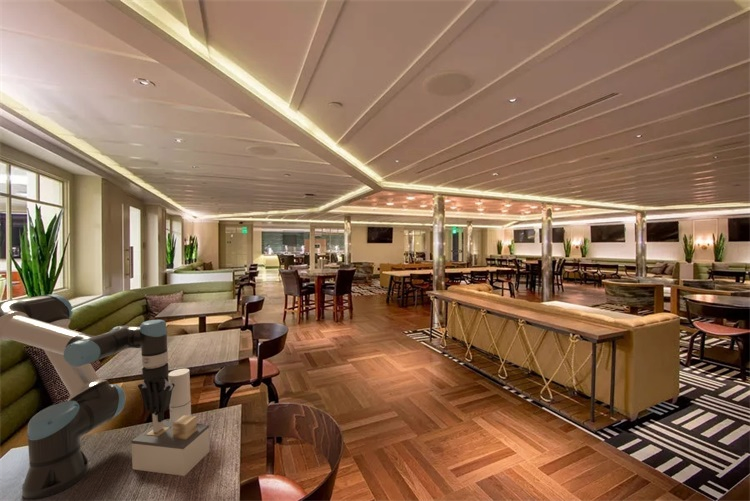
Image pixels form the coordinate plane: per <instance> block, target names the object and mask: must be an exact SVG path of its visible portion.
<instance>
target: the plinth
mask: <svg viewBox="0 0 750 501" xmlns="http://www.w3.org/2000/svg"><path fill="white" fill-rule="evenodd" d="M174 422H175V421H170V420H166V419H164V420H163V426H164V427H170V428H169V429H168V430H167V431H165V432H164V433H162V434H161V435H160V436H158V437H157V436H148V435H146V434H147V433H148V432H150V431H151V430H153V425H152V426H151V427H149V428H148V429H146V430H145V431H143V432H142V433H140V434H139V435H137V436H136V437H135V438H133V439H131V440H130V441H131V462H132V470H135V471H143V472H152V473H158V474H165V475H166V474H167V475H173V476H174V475H175V476H182V477H185V476H186V475H187V474H188V473H190V471H191V470H192V469H193V468H194V467H195V466H196V465H197V464H199V462H200V461H201V460H203V459H204V458H205V457H206V456H207V455H208V454H209V453H210V450H211V447H210V428H209V427H210V425H209V424H205V423H204V424H203V423H197V431H196V432H195V433H194V434H192V435H191V436H190V437H189V438H188V439H186V440H185V439H176V438H173V423H174Z"/></svg>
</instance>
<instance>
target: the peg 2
mask: <svg viewBox="0 0 750 501" xmlns="http://www.w3.org/2000/svg"><path fill="white" fill-rule="evenodd" d="M197 424H198V423H197V415H191V416H187V415H184V416H182V417H181V418H179V419H178V420H177V421H175V422H174V423H173V438H176V439H185V440H186V439H188V438H189V437H190V436H191V435H192V434H194V433H195V432H196V431H197Z"/></svg>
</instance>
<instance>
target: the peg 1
mask: <svg viewBox="0 0 750 501" xmlns="http://www.w3.org/2000/svg"><path fill="white" fill-rule="evenodd" d="M169 428H170V427H164V426H163V428H162V429H161V430H160V431H158V432H157V433H156V432H153V430H151V431H150V432H148V433H147V434H146V435H148V436H157V437H158V436H160V435H161V434H162V433H164V432H165V431H167V430H168V429H169Z"/></svg>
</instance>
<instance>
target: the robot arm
mask: <svg viewBox="0 0 750 501" xmlns="http://www.w3.org/2000/svg"><path fill="white" fill-rule="evenodd" d="M72 315H73V305H72V304H71V302H70V301H69V300H68V299H67V298H66V297H65V296H62V295H60V294H56V293H55V294H53V293H51V294H41V295H38V296H32V297H31V296H30V297H24V298H18V299H10V300H5V301H1V302H0V341H1V342H2V341H3V342H5V341H6V342H7V341H11V340H12V341H15V342H17V343H21V344H25V345H28V346H31V347H35V348H37V349H42V350H43V351H44V353H45V354H46V356H47V357H48V359H49V361H50V363H51V364H52V366H53V368H54V369H55V371H56V373H57V375H58V376H59V378H60V379H61V382H62V383H63V384H64V386H65V388H66V389H67V391H68V393H69V397H68V399H67V400H65V401H60V402H59V403H57V404H55V403H54V404H51V405H49V406H47V407H45V408H43V409H42V410H39V412H37V413H36V414H34V415H33V416H32V417H31V418H30V420H28V421H29V422H28V423H27V432H26V437H27V443H28V460H29V468H28V471H27V472H26V476H25V479H24V482H23V484H22V488H21V489H22V496H23V498H24V499H28V500H37V499H41V498H42V499H43V498H46V497H50V496H52V495H55V494H57V493H61V492H62V491H64V490H66V489H68V488H70V487H72V486H74V485H75V484H76V483H78V482H79V481H81V480H82V479H83V478H84V477H86V475H87V473H88V472H89V470H90V466H89V465H90V464H89V460H88V458H87V456H86V455H85V452H84V451H83V449H82V444H81V437H83V436H84V435H87V434H88V433H89V432H91V431H93V430H95V429H96V428H98V427H100V426H102V425H104V424H105V423H108V422H109V421H112V419H114V418H115V417H116V416H118V415H120V413H121V412H122V411H123V409H124V408H125V404H126V394H125V391H124V389H123V388H122V387H121V386H120V385H117V384H110V383H109V381H108V380H107V379H101V378H100V377H99V376H98V374H97V372H96V371H95V369H94V366H93V365H92V364H91V363H94V362H96V361H99V360H101V359H104V358H106V357H109V356H112V355H114V354H117V353H119V352H122V351H125V350H128V349H141V366H142V368H141V370H142V371H141V372H142V373H141V374H142V379H144V380H143V382H140V383H139V384H137V387H138V390H139V391H140V394H141V398H142V401H143V407H144V411H145V412H149V413H150V415H151V416H150V420H151V422H152V426H153V432H156V433H157V432H158V431H160V430H161V429H162V428H163V420H165V412H166V411H168V410H170V400H171V394H172V389H173V388H174V386H175V385H174V383H172V384H170V383H169V379H168V374H169V363H168V361H169V353H168V329H167V328H168V327H167V322H166V320H164V319H151V320H146V321H143V322H142V323H141V324H140V325H127V324H125V325H119V326H118V325H117V326H115V327H113V328H112V329H110V330H109V331H108V332H104V333H101V334H97V335H91V334H88V333H84V332H80V331H77V330H74V329H70V327H69V326H70V323H71V318H72V317H73V316H72Z"/></svg>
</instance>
